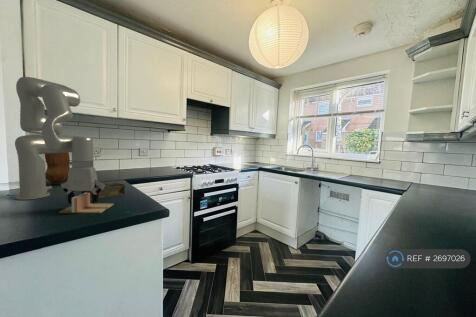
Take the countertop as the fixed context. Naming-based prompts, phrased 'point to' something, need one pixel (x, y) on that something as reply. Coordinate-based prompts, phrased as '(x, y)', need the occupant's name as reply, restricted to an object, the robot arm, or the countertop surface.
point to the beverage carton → (109, 190)
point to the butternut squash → (57, 167)
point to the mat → (90, 208)
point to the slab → (80, 202)
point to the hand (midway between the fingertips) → (83, 202)
